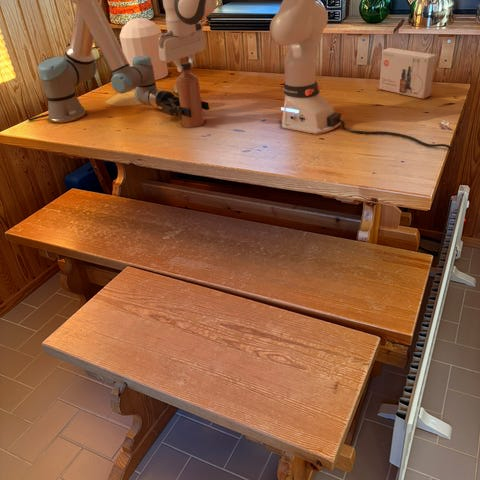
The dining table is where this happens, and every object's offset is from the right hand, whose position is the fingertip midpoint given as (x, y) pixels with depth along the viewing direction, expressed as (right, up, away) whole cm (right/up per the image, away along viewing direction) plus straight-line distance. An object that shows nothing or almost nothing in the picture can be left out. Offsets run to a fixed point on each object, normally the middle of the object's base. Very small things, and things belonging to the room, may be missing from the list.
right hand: (185, 69), depth 169 cm
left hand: (+4, -13, +5) cm, 15 cm away
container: (-28, +24, +75) cm, 83 cm away
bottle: (+2, -17, +12) cm, 20 cm away
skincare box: (+87, -2, +20) cm, 89 cm away
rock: (-5, +6, +46) cm, 46 cm away
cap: (0, +2, -1) cm, 2 cm away
